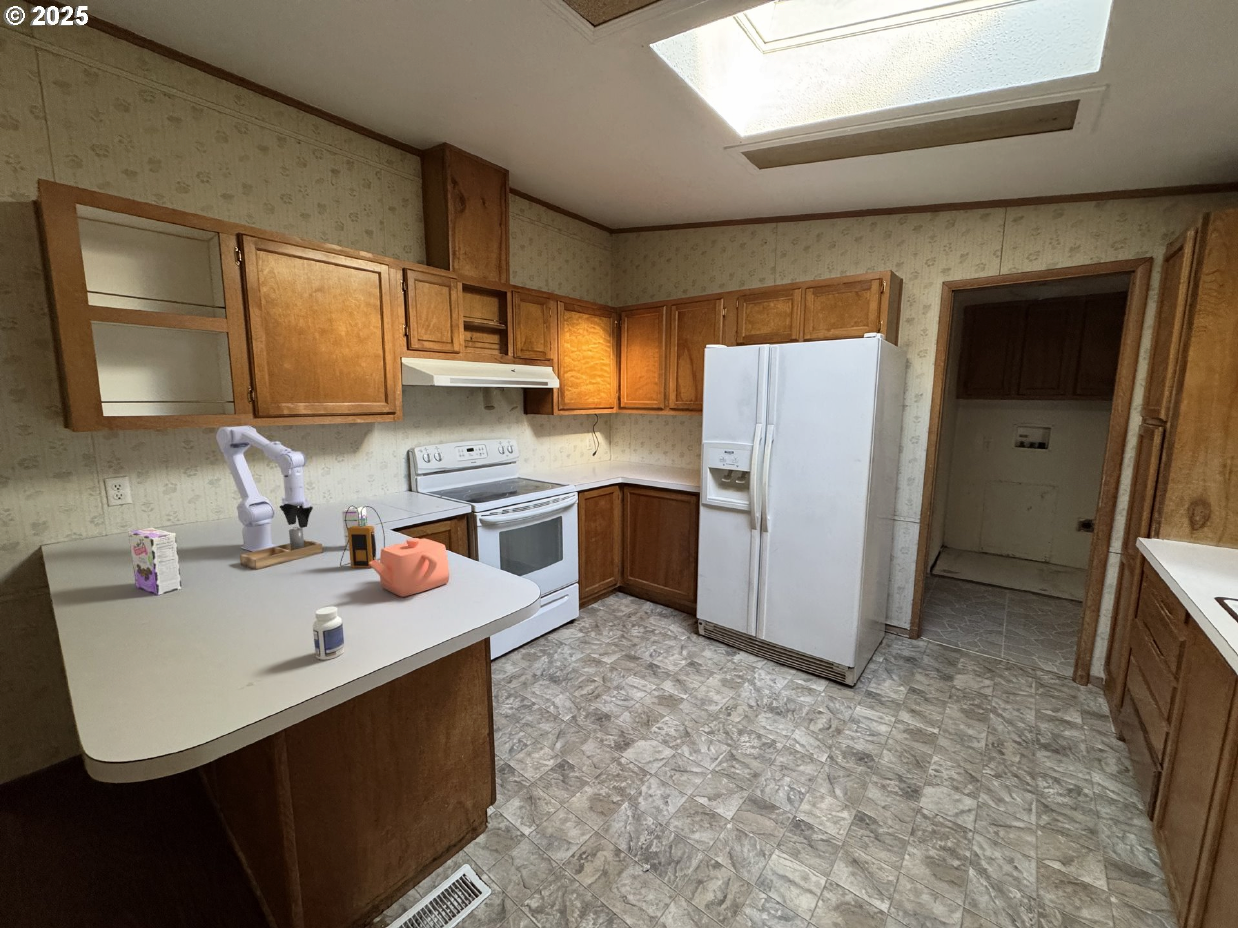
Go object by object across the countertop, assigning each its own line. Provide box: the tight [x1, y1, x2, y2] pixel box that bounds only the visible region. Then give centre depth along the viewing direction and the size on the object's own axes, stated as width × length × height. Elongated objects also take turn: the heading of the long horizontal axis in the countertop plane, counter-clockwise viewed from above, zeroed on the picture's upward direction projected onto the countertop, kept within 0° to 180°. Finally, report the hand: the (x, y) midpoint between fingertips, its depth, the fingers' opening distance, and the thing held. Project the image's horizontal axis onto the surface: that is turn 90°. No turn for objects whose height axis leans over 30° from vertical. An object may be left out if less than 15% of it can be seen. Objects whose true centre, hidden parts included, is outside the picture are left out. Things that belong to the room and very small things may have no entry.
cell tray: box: [239, 539, 323, 570], centre depth 172 cm, size 11×20×3 cm, turn 148°
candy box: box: [128, 527, 183, 596], centre depth 146 cm, size 14×6×16 cm, turn 62°
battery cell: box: [288, 526, 305, 551], centre depth 176 cm, size 4×4×9 cm
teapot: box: [369, 537, 450, 598], centre depth 144 cm, size 20×22×14 cm
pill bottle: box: [312, 606, 345, 661], centre depth 108 cm, size 5×5×10 cm
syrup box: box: [341, 505, 368, 551], centre depth 183 cm, size 6×6×14 cm
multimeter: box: [339, 505, 386, 569], centre depth 166 cm, size 15×10×20 cm
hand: (297, 525), depth 179 cm, fingers open, 7 cm apart
